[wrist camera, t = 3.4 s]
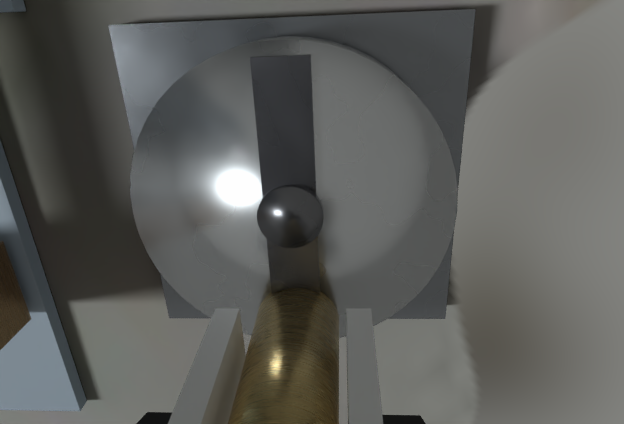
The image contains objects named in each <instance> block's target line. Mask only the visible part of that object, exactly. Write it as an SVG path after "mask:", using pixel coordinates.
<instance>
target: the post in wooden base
mask: <svg viewBox="0 0 624 424" xmlns="http://www.w3.org/2000/svg"><path fill="white" fill-rule="evenodd" d="M30 320H31V316H30V314H29V311H28V308H27V305H26V303H25V300H24V297H23V294H22V292H21V289H20V286H19V283H18V280H17V278H16V275H15V272H14V269H13V267H12V264H11V261H10V258H9V256H8V253H7V250H6V247H5V245H4V242H3V241H0V350H1V349H2V348H3V347H4V346H5V345H6V344H7V343H8V342H9V341H10V340H11V339H12V338H13V337H14V336H15V335H16V334H17V333H18V332H19V331H20V330H21V329H22V328H23V327H24V326H25V325H26V324H27V323H28V322H29V321H30Z"/></svg>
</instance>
